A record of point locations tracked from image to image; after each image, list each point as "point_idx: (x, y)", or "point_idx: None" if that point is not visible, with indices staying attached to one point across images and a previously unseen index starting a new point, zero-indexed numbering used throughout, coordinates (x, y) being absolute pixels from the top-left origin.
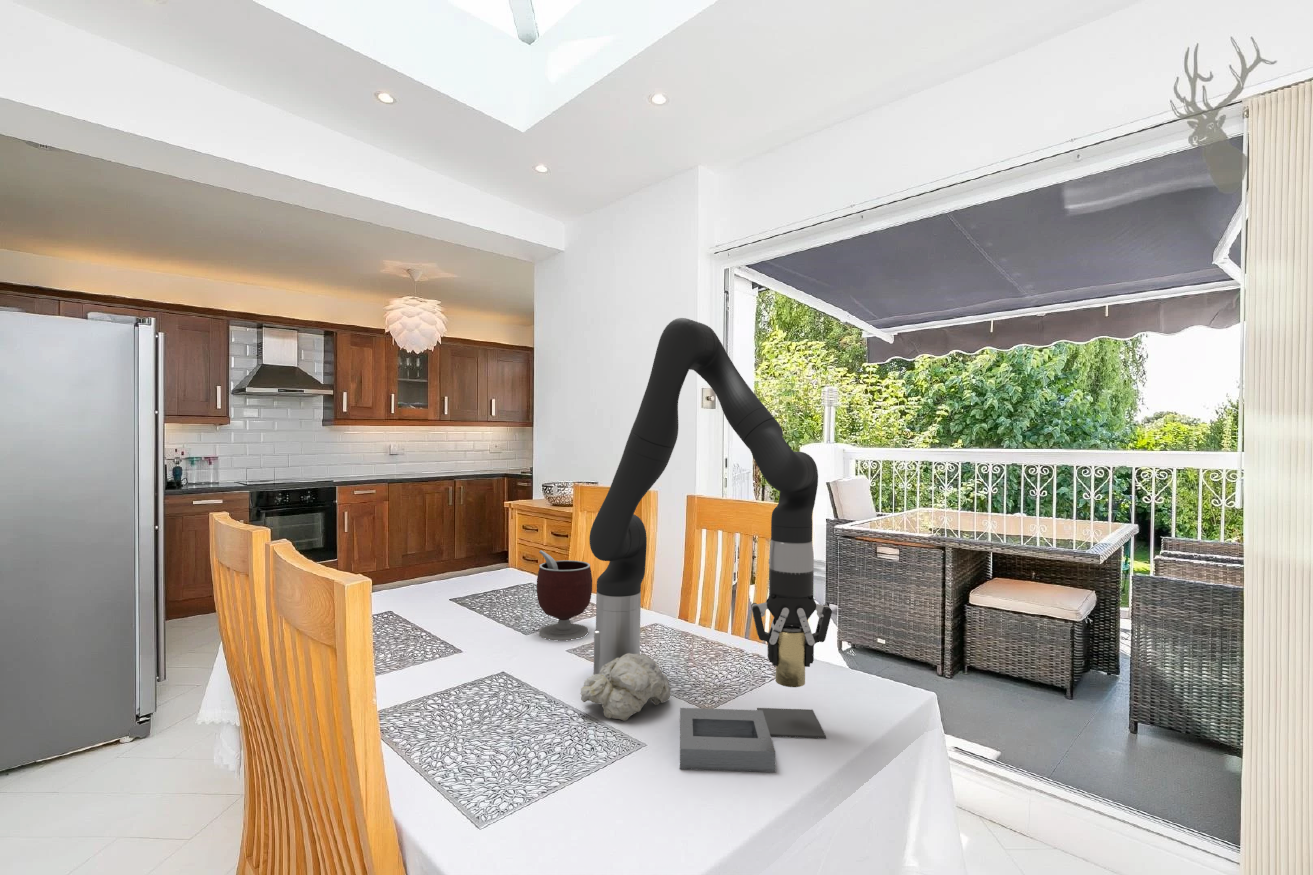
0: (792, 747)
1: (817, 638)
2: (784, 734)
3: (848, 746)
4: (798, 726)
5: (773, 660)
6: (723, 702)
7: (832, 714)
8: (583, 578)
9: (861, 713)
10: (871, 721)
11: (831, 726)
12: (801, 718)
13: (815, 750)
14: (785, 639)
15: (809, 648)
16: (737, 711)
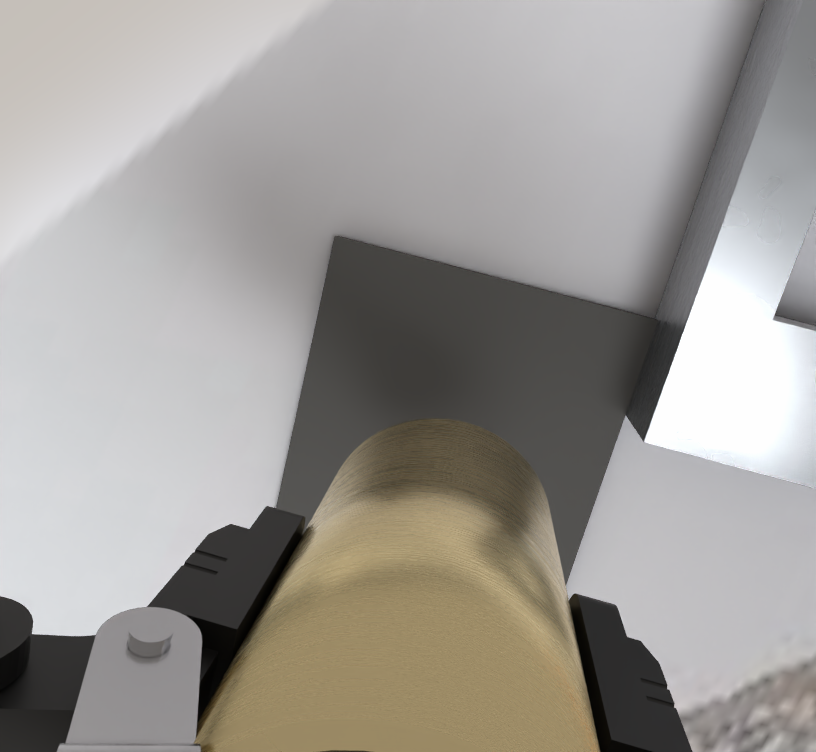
0: (560, 175)
1: (28, 669)
2: (550, 295)
3: (259, 132)
4: (432, 365)
5: (619, 628)
6: (697, 717)
7: (188, 473)
8: None
9: (40, 452)
10: (27, 364)
11: (249, 354)
12: None
13: (452, 121)
14: (551, 719)
15: (207, 599)
16: (811, 459)
